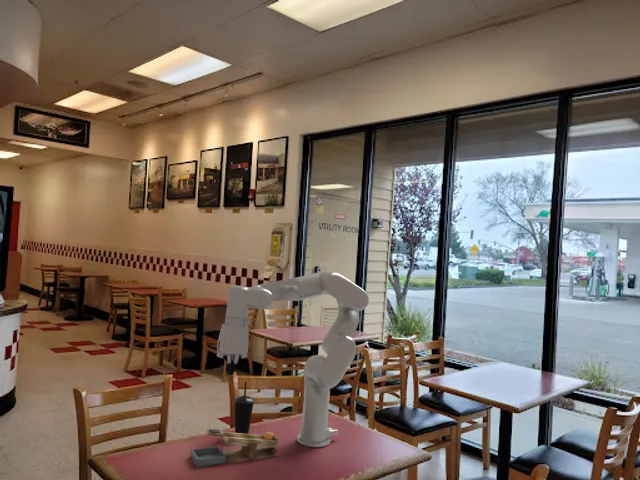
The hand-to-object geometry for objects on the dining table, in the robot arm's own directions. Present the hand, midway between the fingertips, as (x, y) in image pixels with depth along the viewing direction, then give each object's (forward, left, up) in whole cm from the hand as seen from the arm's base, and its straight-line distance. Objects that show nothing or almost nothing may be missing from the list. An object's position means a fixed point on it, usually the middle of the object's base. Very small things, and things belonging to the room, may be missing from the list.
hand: (229, 374), depth 171 cm
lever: (-4, +5, -22) cm, 23 cm away
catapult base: (-7, +7, -26) cm, 28 cm away
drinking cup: (-10, -9, -26) cm, 29 cm away
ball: (-13, +7, -21) cm, 26 cm away
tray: (+7, +7, -26) cm, 28 cm away
